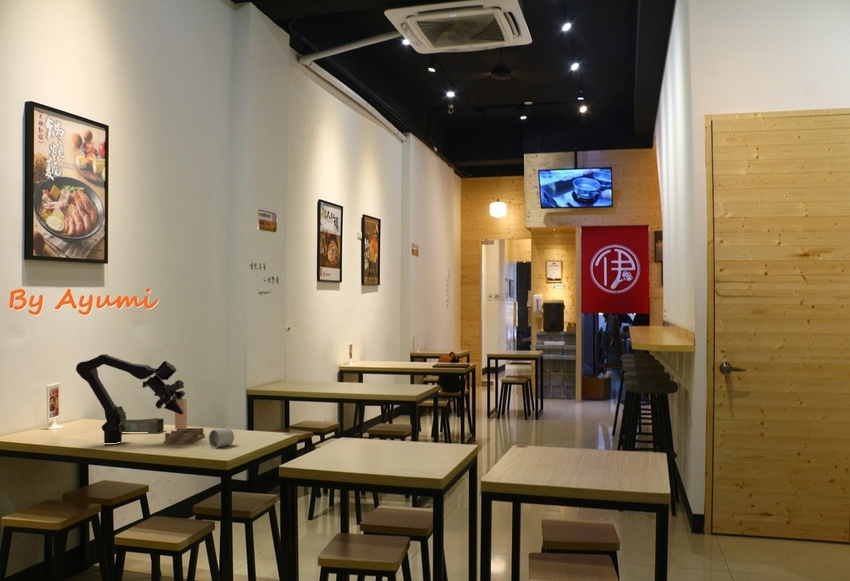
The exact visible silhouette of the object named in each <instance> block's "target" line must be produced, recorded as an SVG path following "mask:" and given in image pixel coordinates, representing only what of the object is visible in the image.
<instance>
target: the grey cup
mask: <svg viewBox="0 0 850 581" xmlns="http://www.w3.org/2000/svg"><path fill="white" fill-rule="evenodd" d="M234 440H235V434H234V432H233V430H232V429H230V428H220V429H219V428H217V429H212V430H211V431H210V432H209V434H208V444H209V445H210V447H211V448H212V449H218V448H223V447H228V446H230V445H232V444H233V442H234Z"/></svg>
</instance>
